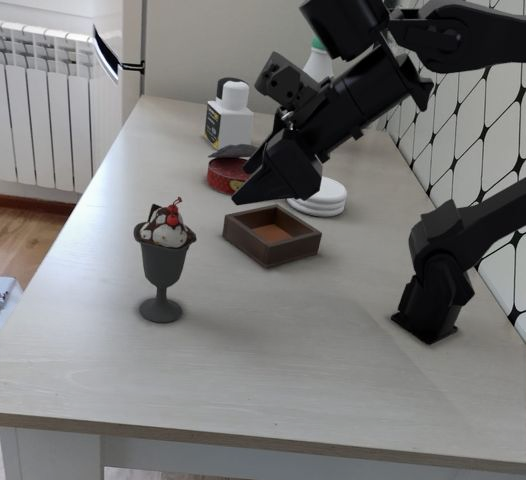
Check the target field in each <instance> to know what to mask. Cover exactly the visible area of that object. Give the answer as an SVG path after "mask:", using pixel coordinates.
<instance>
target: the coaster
mask: <svg viewBox="0 0 526 480" xmlns="http://www.w3.org/2000/svg"><path fill="white" fill-rule="evenodd" d="M347 197H348V190H347V188H346V187H345V186H344V185H343V184H342V183H340V182H339V181H337V180H335V179H332V178H329V177H327V176H323V175H322V181H321V186H320V191H319V192H317V193H316V194H314V195H313V196H311V197H310V198H308V199H307V200H305V201H303V200H301V199H298V200H295V199H294V198H289V199H286V201H287V203H288V204H289V206H291V207H292V208H293V209H294V210H296V211H298V212H300V213H303V214H306V215H310V216H312V217H313V216H314V217H320V218H321V217H323V218H328V217H329V218H330V217H335V216H338V215H340V214H342V212H343V211H344V210H345V204H346V201H347Z"/></svg>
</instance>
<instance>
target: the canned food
mask: <svg viewBox="0 0 526 480" xmlns="http://www.w3.org/2000/svg"><path fill="white" fill-rule="evenodd" d="M257 148H258V147H256V146H254V145H253V144H250V145H248V144H239V145H228V146H225V147H223V148H221V149H219V150H217V151H215V152H212V153H211V154H210V155H209V154H208V156H207V158H208V159H210V160H209V161H208V164H207V174H206V183H207V185H208V186H209V187H210V188H211V189H213V190H214V191H216V192H218V193H221V194H224V195H227V196H232V195H233V194H234V193H235V192H236V191H237V190H238V189H239V188H240V187H241V186H242V185H243V183H244V182H245V181H246V180H247V179H248V178H249V177H250V176H251V175H252V174H253V173H252V174H246V173H245V172H244V170H243V169H242V167H243V165H244V164H245V163H246V162H247V160H248V159H247V158H250V157H251V156H252V154H253V153H254V152H255V151H256V150H257Z"/></svg>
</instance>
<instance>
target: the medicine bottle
mask: <svg viewBox="0 0 526 480" xmlns="http://www.w3.org/2000/svg"><path fill="white" fill-rule="evenodd" d="M216 85H217V86H216V95H215V100H208V101H207V104H206V115H205V124H204V125H205V126H204V138H205V139H206V140H207V141H208V142H209V143H210V144H211V145H212V147H214V148H215V150H217V151H218V150H219V149H221V148H223V147H225V146H228V145H239V144H248V145H251V141H252V134H253V127H254V120H255V113H254V112H253V111H252V110H250V109H249V108H248V107H247V106H248V102H249V95H250V85H249V83H248V82H246V81H245V80H243V79H240V78H237V77H229V76H228V77H222V78H220V79H218V80H217V84H216Z"/></svg>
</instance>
